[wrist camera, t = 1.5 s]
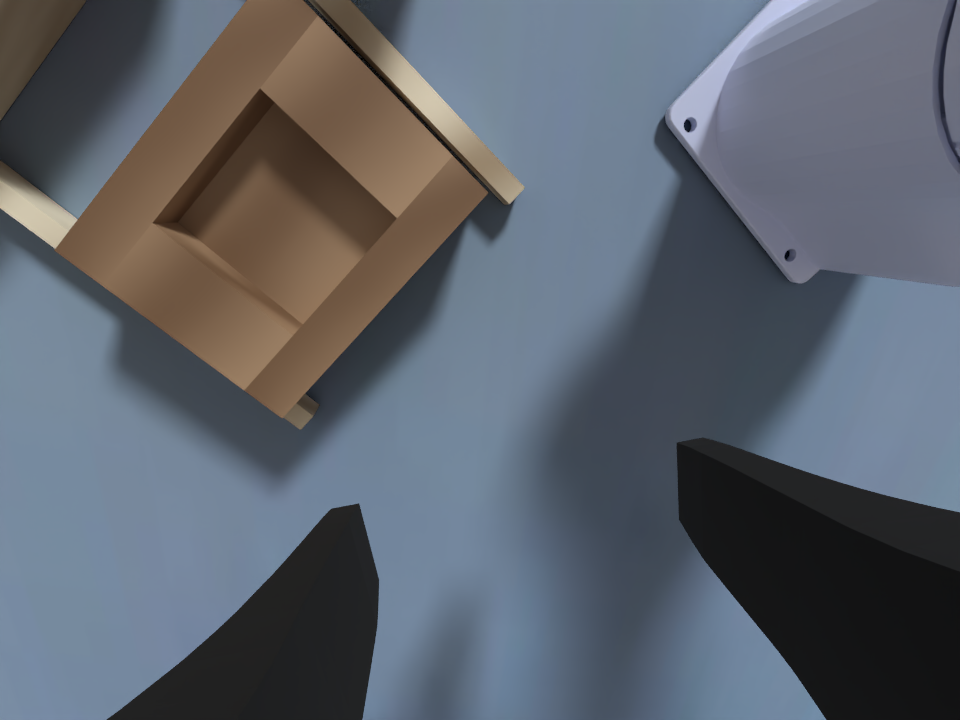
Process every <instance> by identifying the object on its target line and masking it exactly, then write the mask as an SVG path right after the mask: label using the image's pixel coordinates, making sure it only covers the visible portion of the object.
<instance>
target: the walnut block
mask: <svg viewBox="0 0 960 720" xmlns="http://www.w3.org/2000/svg"><path fill="white" fill-rule="evenodd" d="M487 194H488V192H487V191H486V190H485V189H484V188H483V187H482V186H481V185H480V183H479V182H478V181H477V180H476V179H475V178H474V177H473V176H472V175H471V174H470V173H469V172H468V171H467V170H466V169H465V168H464V167H463V166H462V165H461V164H460V163H459V162H458V161H457V160H456V159H455V158H454V156H453V155H452V154H451V153H450V152H449V151H448V150H447V149H446V148H445V147H444V146H443V145H442V144H441V143H440V142H439V141H438V140H437V139H436V138H435V137H434V136H433V135H432V134H431V133H430V132H429V131H428V129H427V128H426V127H425V126H424V125H423V124H422V123H421V122H420V121H419V120H418V119H417V118H416V117H415V116H414V115H413V114H412V113H411V112H410V111H409V110H408V109H407V108H406V107H405V106H404V105H403V103H402V102H401V101H400V100H399V99H398V98H397V97H396V96H395V95H394V94H393V93H392V92H391V91H390V90H389V89H388V88H387V87H386V86H385V85H384V84H383V83H382V82H381V81H380V80H379V79H378V78H377V76H376V75H375V74H374V73H373V72H372V71H371V70H370V69H369V68H368V67H367V66H366V65H365V64H364V63H363V62H362V61H361V60H360V59H359V58H358V57H357V56H356V55H355V54H354V53H353V52H352V51H351V49H350V48H349V47H348V46H347V45H346V44H345V43H344V42H343V41H342V40H341V39H340V38H339V37H338V36H337V35H336V34H335V33H334V32H333V31H332V30H331V29H330V28H329V27H328V26H327V25H326V24H325V22H324V21H323V20H322V19H321V18H320V17H319V16H318V15H317V14H316V13H315V12H314V11H313V10H312V9H311V8H310V7H309V6H308V5H307V4H306V3H305V2H304V1H303V0H247V1H246V2H245V3H244V5H243V6H242V7H241V9H240V10H239V11H238V12H237V14H236V15H235V16H234V18H233V19H232V20H231V22H230V23H229V24H228V25H227V27H226V28H225V29H224V31H223V32H222V33H221V34H220V36H219V37H218V38H217V40H216V41H215V42H214V44H213V45H212V46H211V47H210V49H209V50H208V51H207V53H206V54H205V55H204V57H203V58H202V59H201V60H200V62H199V63H198V64H197V66H196V67H195V68H194V70H193V71H192V72H191V73H190V75H189V76H188V77H187V79H186V80H185V81H184V82H183V84H182V85H181V86H180V88H179V89H178V90H177V92H176V93H175V94H174V95H173V97H172V98H171V99H170V101H169V102H168V103H167V105H166V106H165V107H164V108H163V110H162V111H161V112H160V114H159V115H158V116H157V118H156V119H155V120H154V121H153V123H152V124H151V125H150V127H149V128H148V129H147V130H146V132H145V133H144V134H143V136H142V137H141V138H140V140H139V141H138V142H137V143H136V145H135V146H134V147H133V149H132V150H131V151H130V153H129V154H128V155H127V156H126V158H125V159H124V160H123V162H122V163H121V164H120V165H119V167H118V168H117V169H116V171H115V172H114V173H113V175H112V176H111V177H110V178H109V180H108V181H107V182H106V184H105V185H104V186H103V188H102V189H101V190H100V191H99V193H98V194H97V195H96V197H95V198H94V199H93V201H92V202H91V203H90V204H89V206H88V207H87V208H86V210H85V211H84V212H83V213H82V215H81V216H80V217H79V219H78V220H77V221H76V223H75V224H74V225H73V226H72V228H71V229H70V230H69V232H68V233H67V234H66V236H65V237H64V238H63V239H62V241H61V242H60V243H59V245H58V246H57V247H56V249H55V250H54V251H56V252H57V253H58V254H60V255H61V256H63V257H64V258H65V259H67V260H68V261H69V262H71V263H72V264H73V265H75V266H76V267H77V268H79V269H80V270H81V271H83V272H84V273H86V274H87V275H88V276H90V277H91V278H92V279H94V280H95V281H96V282H98V283H99V284H100V285H102V286H103V287H105V288H106V289H107V290H109V291H110V292H111V293H113V294H114V295H115V296H117V297H118V298H119V299H121V300H122V301H124V302H125V303H126V304H128V305H129V306H130V307H132V308H133V309H134V310H136V311H137V312H138V313H140V314H141V315H143V316H144V317H145V318H147V319H148V320H149V321H151V322H152V323H153V324H155V325H156V326H157V327H159V328H160V329H161V330H163V331H164V332H166V333H167V334H168V335H170V336H171V337H172V338H174V339H175V340H176V341H178V342H179V343H180V344H182V345H183V346H185V347H186V348H187V349H189V350H190V351H191V352H193V353H194V354H195V355H197V356H198V357H199V358H201V359H202V360H204V361H205V362H206V363H208V364H209V365H210V366H212V367H213V368H214V369H216V370H217V371H218V372H220V373H221V374H222V375H224V376H225V377H227V378H228V379H229V380H231V381H232V382H233V383H235V384H236V385H237V386H239V387H240V388H241V389H243V390H244V391H246V392H247V393H248V394H250V395H251V396H252V397H254V398H255V399H256V400H258V401H259V402H260V403H262V404H263V405H265V406H266V407H267V408H269V409H270V410H271V411H273V412H274V413H275V414H277V415H278V416H279V417H281V418H283V417H284V416H285V415H286V414H287V413H288V412H289V410H290V409H291V408H292V407H293V406H294V405H295V404H296V403H297V402H298V401H299V399H300V398H301V397H302V396H303V395H304V394H305V393H306V392H307V391H308V390H309V389H310V387H311V386H312V385H313V384H314V383H315V382H316V381H317V380H318V379H319V378H320V377H321V375H322V374H323V373H324V372H325V371H326V370H327V369H328V368H329V367H330V366H331V364H332V363H333V362H334V361H335V360H336V359H337V358H338V357H339V356H340V355H341V354H342V352H343V351H344V350H345V349H346V348H347V347H348V346H349V345H350V344H351V343H352V342H353V340H354V339H355V338H356V337H357V336H358V335H359V334H360V333H361V332H362V331H363V329H364V328H365V327H366V326H367V325H368V324H369V323H370V322H371V321H372V320H373V319H374V317H375V316H376V315H377V314H378V313H379V312H380V311H381V310H382V309H383V308H384V307H385V305H386V304H387V303H388V302H389V301H390V300H391V299H392V298H393V297H394V296H395V294H396V293H397V292H398V291H399V290H400V289H401V288H402V287H403V286H404V285H405V284H406V282H407V281H408V280H409V279H410V278H411V277H412V276H413V275H414V274H415V273H416V272H417V270H418V269H419V268H420V267H421V266H422V265H423V264H424V263H425V262H426V261H427V259H428V258H429V257H430V256H431V255H432V254H433V253H434V252H435V251H436V250H437V249H438V247H439V246H440V245H441V244H442V243H443V242H444V241H445V240H446V239H447V238H448V236H449V235H450V234H451V233H452V232H453V231H454V230H455V229H456V228H457V227H458V226H459V224H460V223H461V222H462V221H463V220H464V219H465V218H466V217H467V216H468V215H469V214H470V212H471V211H472V210H473V209H474V208H475V207H476V206H477V205H478V204H479V203H480V201H481V200H482V199H483V198H484V197H485V196H486V195H487Z"/></svg>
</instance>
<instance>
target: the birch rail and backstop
mask: <svg viewBox="0 0 960 720" xmlns="http://www.w3.org/2000/svg"><path fill="white" fill-rule="evenodd" d="M86 1H87V0H0V121H1V119H2V118H3V116H4V115H5V114H6V112H7V111H8V109H9V108H10V107H11V105H12V104H13V102H14V101H15V100H16V98H17V97H18V96H19V94H20V93H21V91H22V90H23V89H24V87H25V86H26V84H27V83H28V82H29V80H30V79H31V77H32V76H33V75H34V73H35V72H36V70H37V69H38V68H39V66H40V65H41V63H42V62H43V61H44V59H45V58H46V56H47V55H48V54H49V52H50V51H51V49H52V48H53V47H54V45H55V44H56V42H57V41H58V40H59V38H60V37H61V35H62V34H63V33H64V31H65V30H66V28H67V27H68V26H69V24H70V23H71V21H72V20H73V19H74V17H75V16H76V14H77V13H78V12H79V10H80V9H81V8H82V6H83V5H84V3H85V2H86ZM308 1H309V2H310V3H311V4H312V5H313V6H314V7H315V8H316V9H317V10H318V11H319V12H320V13H321V14H322V15H323V16H324V17H325V18H326V20H327V21H328V22H329V23H330V24H331V25H332V26H333V27H334V28H335V29H336V30H337V31H338V32H339V33H340V34H341V35H342V36H343V37H344V38H345V39H346V40H347V41H348V42H349V43H350V45H351V46H352V47H353V48H354V49H355V50H356V51H357V52H358V53H359V54H360V55H361V56H362V57H363V58H364V59H365V60H366V61H367V62H368V63H369V64H370V65H371V66H372V67H373V68H374V70H375V71H376V72H377V73H378V74H379V75H380V76H381V77H382V78H383V79H384V80H385V81H386V82H387V83H388V84H389V85H390V86H391V87H392V88H393V89H394V90H395V91H396V92H397V94H398V95H399V96H400V97H401V98H402V99H403V100H404V101H405V102H406V103H407V104H408V105H409V106H410V107H411V108H412V109H413V110H414V111H415V112H416V113H417V114H418V115H419V116H420V117H421V119H422V120H423V121H424V122H425V123H426V124H427V125H428V126H429V127H430V128H431V129H432V130H433V131H434V132H435V133H436V134H437V135H438V136H439V137H440V138H441V139H442V140H443V141H444V142H445V144H446V145H447V146H448V147H449V148H450V149H451V150H452V151H453V152H454V153H455V154H456V155H457V156H458V157H459V158H460V159H461V160H462V161H463V162H464V163H465V164H466V165H467V166H468V168H469V169H470V170H471V171H472V172H473V173H474V174H475V175H476V176H477V177H478V178H479V179H480V180H481V181H482V182H483V183H484V184H485V185H486V186H487V187H488V188H489V189H490V190H491V191H492V193H493V194H494V195H495V196H496V197H497V198H498V199H499V200H500V201H501V202H502V203H503V204H504V205H508V204H510V203H511V202H512V201H513V200H514V199H515V198H516V197H517V196H518V195H519V194H520V193H521V191H522V190H523V189H524V188H525V187H524V186H523V185H522V184H521V183H520V182H519V181H518V180H517V179H516V178H515V177H514V175H513V174H512V173H511V172H510V171H509V170H508V169H507V168H506V167H505V166H504V165H503V164H502V163H501V161H500V160H499V159H498V158H497V157H496V156H495V155H494V154H493V153H492V152H491V151H490V150H489V149H488V148H487V146H486V145H485V144H484V143H483V142H482V141H481V140H480V139H479V138H478V137H477V136H476V135H475V134H474V132H473V131H472V130H471V129H470V128H469V127H468V126H467V125H466V124H465V123H464V122H463V121H462V120H461V119H460V117H459V116H458V115H457V114H456V113H455V112H454V111H453V110H452V109H451V108H450V107H449V106H448V105H447V103H446V102H445V101H444V100H443V99H442V98H441V97H440V96H439V95H438V94H437V93H436V92H435V91H434V90H433V88H432V87H431V86H430V85H429V84H428V83H427V82H426V81H425V80H424V79H423V78H422V77H421V76H420V75H419V73H418V72H417V71H416V70H415V69H414V68H413V67H412V66H411V65H410V64H409V63H408V62H407V61H406V59H405V58H404V57H403V56H402V55H401V54H400V53H399V52H398V51H397V50H396V49H395V48H394V47H393V46H392V44H391V43H390V42H389V41H388V40H387V39H386V38H385V37H384V36H383V35H382V34H381V33H380V32H379V30H378V29H377V28H376V27H375V26H374V25H373V24H372V23H371V22H370V21H369V20H368V19H367V18H366V17H365V15H364V14H363V13H362V12H361V11H360V10H359V9H358V8H357V7H356V6H355V5H354V4H353V3H352V1H351V0H308ZM0 208H1V209H2V210H3V211H5V212H6V213H7V214H9V215H10V216H12V217H13V218H14V219H16V220H17V221H18V222H20V223H21V224H22V225H24V226H25V227H26V228H28V229H29V230H30V231H32V232H33V233H35V234H36V235H37V236H39V237H40V238H41V239H43V240H44V241H45V242H47V243H48V244H49V245H51V246H52V247H53V248H55V249H56V247H57V246H58V245H59V243H60V242H61V241H62V239H63V238H64V237H65V236H66V234H67V233H68V232H69V230H70V229H71V228H72V226H73V225H74V224H75V223H76V221H77V220H78V219H76V218H75V217H74V216H73V215H71V214H70V213H69V212H67V211H66V210H65V209H63V208H62V207H61V206H60V205H58V204H57V203H56V202H54V201H53V200H52V199H50V198H49V197H48V196H46V195H45V194H44V193H43V192H41V191H40V190H39V189H37V188H36V187H35V186H33V185H32V184H31V183H30V182H28V181H27V180H26V179H24V178H23V177H22V176H20V175H19V174H18V173H16V172H15V171H14V170H13V169H11V168H10V167H9V166H7V165H6V164H5V163H3V162H2V161H1V160H0ZM319 406H320V405H319V404H318V403H316V402H315V401H314V400H313V399H311V398H310V397H309V396H307V395H306V394H304V395H303V396H302V397H301V398H300V399H299V401H298V402H297V403H296V404H295V405H294V406H293V407H292V408H291V409H290V410H289V412H288V413H287V414H286V415H285V416H284V418H285V419H286V420H288V421H289V422H290V423H292V424H293V425H294V426H296V427H297V428H298V429H300V430H301V429H302V428H303V427H304V426H305V425H306V424H307V423H308V422H309V420H310V419H311V418H312V417H313V416H314V414H315V413H316V411H317V409H318V407H319Z"/></svg>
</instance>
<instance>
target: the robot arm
mask: <svg viewBox="0 0 960 720" xmlns="http://www.w3.org/2000/svg"><path fill="white" fill-rule="evenodd" d="M686 119H688V120H689V121H690V122H691V130H690V132H686V131H685V129H684V122H685V120H686ZM665 120H666V124H667V126H668V127H669V129H670V130H671V131H672V132H673V134H674V135H675V136H676V137H677V139H678V140H679V141H680V143H681V144H682V145H683V146H684V148H685V149H686V150H687V151H688V153H689V154H690V155H691V157H692V158H693V159H694V160H695V162H696V163H697V164H698V165H699V167H700V168H701V169H702V171H703V172H704V173H705V174H706V176H707V177H708V178H709V179H710V181H711V182H712V183H713V185H714V186H715V187H716V188H717V190H718V191H719V192H720V193H721V195H722V196H723V197H724V199H725V200H726V201H727V202H728V204H729V205H730V206H731V208H732V209H733V210H734V211H735V213H736V214H737V215H738V216H739V218H740V219H741V220H742V222H743V223H744V224H745V225H746V227H747V228H748V229H749V230H750V232H751V233H752V234H753V236H754V237H755V238H756V239H757V241H758V242H759V243H760V244H761V246H762V247H763V248H764V250H765V251H766V252H767V253H768V255H769V256H770V257H771V258H772V260H773V261H774V262H775V264H776V265H777V266H778V267H779V269H780V270H781V271H782V272H783V274H784V275H785V276H786V278H787V279H788V280H789V281H791V282H794V283H799V284H801V283H805V282H806V281H808V280H809V279H810V278H811V277H812V276H813V275H814V274H816V273H817V272H818V271H819V270H820V269H821V270H829V271H836V272H844V273H852V274H859V275H867V276H874V277H882V278H890V279H897V280H905V281H912V282H920V283H928V284H935V285H943V286H951V287H960V0H770V1H769V2H768V3H767V4H766V5H765V6H764V7H763V8H762V10H761V11H760V12H759V13H758V14H757V15H756V16H755V17H754V18H753V19H752V20H751V21H750V22H749V23H748V24H747V25H746V26H745V27H744V28H743V30H742V31H741V32H740V33H739V34H738V35H737V36H736V37H735V38H734V39H733V40H732V41H731V42H730V43H729V44H728V45H727V46H726V47H725V48H724V50H723V51H722V52H721V53H720V54H719V55H718V56H717V57H716V58H715V59H714V60H713V61H712V62H711V63H710V64H709V65H708V66H707V67H706V68H705V69H704V71H703V72H702V73H701V74H700V75H699V76H698V77H697V78H696V79H695V80H694V81H693V82H692V83H691V84H690V85H689V86H688V87H687V88H686V89H685V91H684V92H683V93H682V94H681V95H680V96H679V97H678V98H677V99H676V100H675V101H674V102H673V103H672V104H671V105H670V106H669V108H668V109H667V111H666V115H665ZM787 250H789V252H790V254H789V257H788V258H787V259H786V260H785V258H784V256H785V253H786V251H787ZM677 466H678V500H679V520H680V522H681V524H682V525H683V527H684V529H685V530H686V532H687V534H688V535H689V537H690V539H691V540H692V542H693V544H694V545H695V547H696V548H697V550H698V551H699V553H700V554H701V556H702V558H703V559H704V560H705V562H706V563H707V564H708V565H709V567H710V568H711V569H712V570H713V572H714V573H715V574H716V575H717V577H718V578H719V579H720V580H721V582H722V583H723V584H724V585H725V587H726V588H727V589H728V590H729V591H730V593H731V594H732V595H733V596H734V598H735V599H736V600H737V601H738V602H739V604H740V605H741V606H742V607H743V609H744V610H745V611H746V612H747V613H748V615H749V616H750V617H751V618H752V620H753V621H754V622H755V623H756V624H757V626H758V627H759V628H760V629H761V631H762V632H763V633H764V634H765V635H766V637H767V638H768V639H769V640H770V641H771V643H772V644H773V645H774V646H775V648H776V649H777V650H778V651H779V653H780V654H781V655H782V657H783V658H784V659H785V661H786V662H787V663H788V665H789V666H790V667H791V669H792V670H793V671H794V673H795V674H796V675H797V677H798V678H799V680H800V681H801V683H802V684H803V686H804V687H805V689H806V690H807V692H808V693H809V695H810V696H811V697H812V699H813V700H814V702H815V703H816V705H817V706H818V708H819V709H820V711H821V712H822V714H823V715H824V717H825V718H826V720H960V512H955V511H950V510H945V509H941V508H936V507H931V506H927V505H923V504H919V503H915V502H911V501H906V500H902V499H898V498H894V497H890V496H886V495H882V494H878V493H875V492H871V491H867V490H864V489H860V488H857V487H853V486H850V485H847V484H843V483H840V482H837V481H833V480H830V479H827V478H824V477H821V476H817V475H814V474H811V473H808V472H805V471H802V470H799V469H796V468H793V467H790V466H787V465H785V464H782V463H779V462H776V461H773V460H770V459H767V458H764V457H762V456H759V455H756V454H753V453H750V452H747V451H745V450H742V449H739V448H736V447H733V446H730V445H727V444H724V443H721V442H717V441H714V440H710V439H706V438H699V439H693V440H688V441H683V442H678V443H677ZM378 596H379V578H378V574H377V571H376V567H375V563H374V559H373V555H372V551H371V548H370V544H369V540H368V536H367V532H366V528H365V525H364V521H363V517H362V513H361V509H360V505H359V504H354V505H349V506H344V507H338V508H333V509H331V510H330V511H329V512H328V513H327V514H326V515H325V516H324V517H323V518H322V519H321V520H320V521H319V523H318V524H317V525H316V526H315V527H314V528H313V529H312V531H311V532H310V533H309V534H308V535H307V536H306V538H305V539H304V540H303V541H302V542H301V543H300V544H299V546H298V547H297V548H296V549H295V550H294V551H293V552H292V554H291V555H290V556H289V557H288V558H287V559H286V560H285V561H284V563H283V564H282V565H281V566H280V567H279V568H278V569H277V570H276V571H275V573H274V574H273V575H272V576H271V577H270V578H269V579H268V580H267V581H266V582H265V583H264V584H263V585H262V586H261V587H260V588H259V589H258V590H257V591H256V592H255V593H254V594H253V595H252V596H251V597H250V598H249V599H248V600H247V601H246V603H245V604H244V605H243V606H242V607H241V608H240V609H239V610H238V611H237V612H236V613H235V614H234V615H233V616H232V617H230V618H229V619H228V620H227V621H226V622H225V623H224V624H223V625H222V626H221V627H220V628H219V629H218V630H217V631H216V632H214V633H213V634H212V635H211V636H210V637H209V638H208V639H207V640H205V641H204V642H203V643H202V644H201V645H200V646H199V647H197V648H196V649H195V650H194V651H193V652H192V653H191V654H190V655H188V656H187V657H186V658H185V659H184V660H182V661H181V662H180V663H179V664H178V665H176V666H175V667H174V668H173V669H171V670H170V671H169V672H168V673H166V674H165V675H164V676H162V677H161V678H160V679H159V680H157V681H156V682H155V683H154V684H152V685H151V686H150V687H149V688H147V689H146V690H145V691H143V692H142V693H141V694H140V695H138V696H137V697H136V698H135V699H133V700H132V701H131V702H129V703H128V704H127V705H126V706H124V707H123V708H122V709H121V710H119V711H118V712H116V713H115V714H114V715H112V716H111V717H110V718H108V719H107V720H362V718H363V712H364V706H365V699H366V693H367V687H368V681H369V675H370V669H371V663H372V657H373V650H374V644H375V637H376V631H377V620H378Z"/></svg>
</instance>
